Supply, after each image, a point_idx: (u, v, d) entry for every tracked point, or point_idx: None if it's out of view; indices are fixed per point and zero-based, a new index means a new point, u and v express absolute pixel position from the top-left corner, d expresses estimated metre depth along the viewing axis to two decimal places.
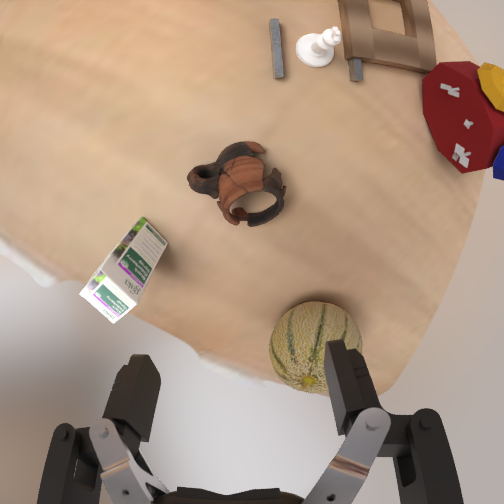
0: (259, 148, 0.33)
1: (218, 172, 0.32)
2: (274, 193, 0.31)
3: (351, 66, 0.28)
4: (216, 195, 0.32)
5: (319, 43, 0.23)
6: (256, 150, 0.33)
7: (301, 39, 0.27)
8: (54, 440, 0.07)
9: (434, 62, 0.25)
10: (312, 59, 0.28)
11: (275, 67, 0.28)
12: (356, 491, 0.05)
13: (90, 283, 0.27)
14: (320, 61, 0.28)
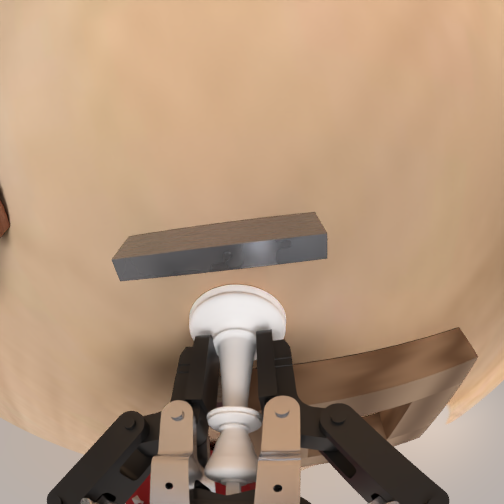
0: None
1: None
2: None
3: None
4: None
5: (220, 415, 0.09)
6: None
7: (260, 304, 0.13)
8: (116, 423, 0.08)
9: None
10: (204, 331, 0.13)
11: (139, 258, 0.10)
12: (298, 474, 0.06)
13: None
14: None
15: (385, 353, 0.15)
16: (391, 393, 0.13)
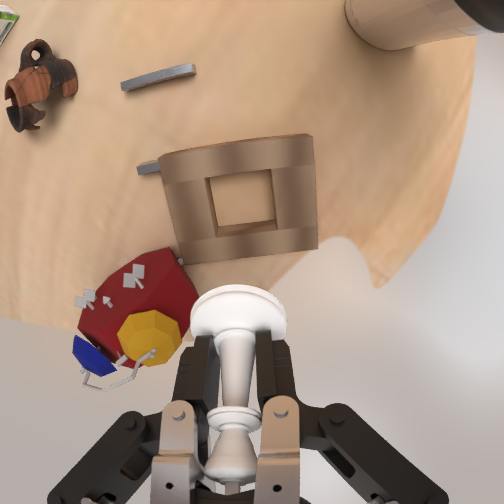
0: (66, 92, 0.23)
1: (38, 63, 0.19)
2: (20, 119, 0.20)
3: (154, 161, 0.29)
4: (19, 70, 0.18)
5: (220, 415, 0.09)
6: (63, 90, 0.23)
7: (261, 304, 0.12)
8: (117, 423, 0.08)
9: (195, 261, 0.33)
10: (205, 331, 0.13)
11: (130, 80, 0.24)
12: (297, 474, 0.06)
13: None
14: None
15: (248, 139, 0.29)
16: (246, 150, 0.27)
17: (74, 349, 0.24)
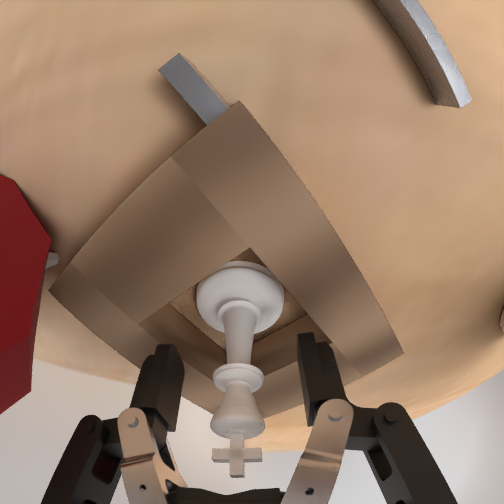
0: None
1: None
2: None
3: (213, 89, 0.10)
4: None
5: (225, 372, 0.10)
6: None
7: (261, 277, 0.14)
8: (78, 430, 0.08)
9: (69, 306, 0.12)
10: (210, 304, 0.15)
11: None
12: (333, 481, 0.05)
13: None
14: (208, 316, 0.15)
15: None
16: (354, 294, 0.12)
17: None
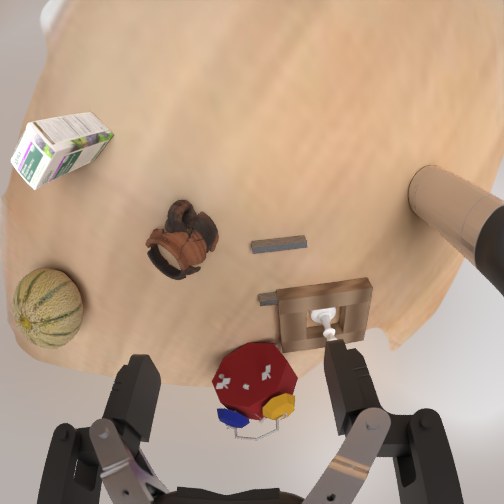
0: (214, 248, 0.41)
1: (188, 226, 0.37)
2: (180, 276, 0.38)
3: (270, 296, 0.47)
4: (168, 230, 0.36)
5: (324, 334, 0.45)
6: (211, 247, 0.41)
7: None
8: (54, 440, 0.07)
9: (290, 350, 0.51)
10: (316, 320, 0.50)
11: (260, 247, 0.41)
12: (356, 491, 0.05)
13: (40, 140, 0.20)
14: (320, 322, 0.50)
15: (332, 283, 0.46)
16: (334, 297, 0.45)
17: (224, 417, 0.41)
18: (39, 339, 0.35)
